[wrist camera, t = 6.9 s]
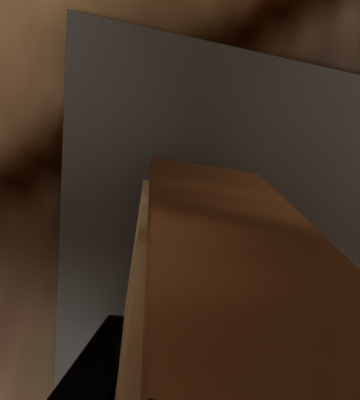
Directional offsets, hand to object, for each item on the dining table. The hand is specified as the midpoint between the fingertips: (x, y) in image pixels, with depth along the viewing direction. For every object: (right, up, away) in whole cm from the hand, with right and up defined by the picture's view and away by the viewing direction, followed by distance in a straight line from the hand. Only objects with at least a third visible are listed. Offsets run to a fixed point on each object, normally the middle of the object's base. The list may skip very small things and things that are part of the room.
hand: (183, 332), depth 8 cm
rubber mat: (+4, +1, +4) cm, 5 cm away
